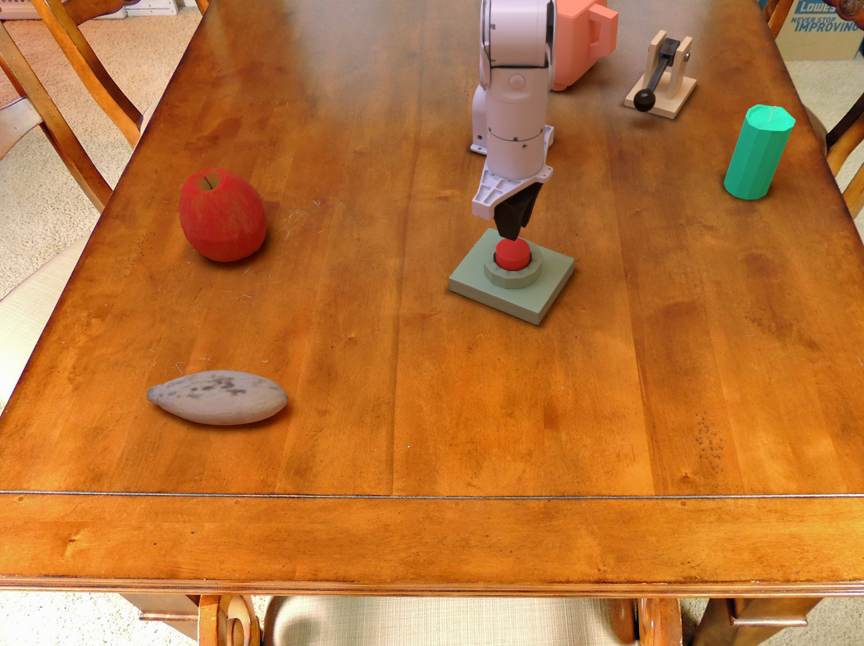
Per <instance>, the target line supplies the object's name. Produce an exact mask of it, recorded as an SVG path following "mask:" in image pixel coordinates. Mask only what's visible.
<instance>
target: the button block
mask: <svg viewBox="0 0 864 646" xmlns="http://www.w3.org/2000/svg"><path fill="white" fill-rule="evenodd" d="M518 238H521V239H523V240H525V241H526V242H527V243H528V244H529V246H530V261H529V264H528V265H527V266H526V267H525V268H524V269H522V270H520V271H507V270H504V269H502V268H500V267H499V266H498V265H497V263H496V246H497V244H498V243H499V242H500V241H501V240H503V239H505V238H504V237H501V236H500V235H499V233H498V230H497V229H495V228H492V227H488V228H487V229H486V230H485V232H484V233H483V234H482V235H481V237H480V238H479V239H478V240H477V241H476V243H475V244H474V245H473V246H472V248H471V249H470V250H469V251H468V253H467V254H466V255H465V256H464V258H463V259H462V260H461V261H460V262H459V264H458V265H457V267H456V268H455V269H454V270H453V271H452V273H451V274H450V275H449V276H448V285H449V290H450V291H451V292H453V293H456V294H459V295H461V296H463V297H466V298H468V299H470V300H473V301H476V302H479V303H480V304H484V305H487V307H490V308H493V309H496V310H499V311H501V312H503V313H506V314H509V315H511V316H513V317H516V318H518V319H520V320H523V321H525V322H528V323H530V324H533V325H536V326H539V325H540V323H542V320H543V318H544V317H545V315H546V314H547V313H548V311H549V309H550V308H551V307H552V305H553V303H554V302H555V300H556V299H557V297H558V296H559V294H560V292H561V291H562V290H563V288H564V286H565V285H566V284H567V282H568V281H569V279H570V278H571V276H572V274H573V273H574V270H575V262H576V258H574V257H571V256H569V255H566V254H563V253H560V252H558V251H555V250H552V249H550V248H546V247H544V246H542V245H538V244H536V243H534V242H533V241H531V240H528V239H526V238H523V237H520V236H518Z"/></svg>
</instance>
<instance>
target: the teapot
mask: <svg viewBox="0 0 864 646" xmlns="http://www.w3.org/2000/svg"><path fill="white" fill-rule="evenodd" d="M556 1H557V7H558V23H557V42H556V67H555V81H554V87H553V88H552V89H551V90H553V91H556V92H561V91H565V90H566V89H567V87H570V86H572V85H573V84H574V83H576V82H577V81H578V80H579V79H580V78H582V76H583V75H584V74H585V73H587V72H588V71H589V70H590V69H591V68H592V67H593V66H594V65H595V63H597V62H598V61H599V60H600V59H601V58H602V57H606V56H610V54H612V53H613V52H614V51H615V50H616V48H617V39H618V38H617V37H618V25H619V24H618V23H619V14H620V13H619V12H618V11H616V10H614V9H611V8H608V0H556Z"/></svg>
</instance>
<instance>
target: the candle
mask: <svg viewBox="0 0 864 646" xmlns="http://www.w3.org/2000/svg"><path fill="white" fill-rule="evenodd" d="M796 121H797V120H796V118H794V117H793V116H792V115H791V114H790V112H787V110H786V109H785V108H783V106H776V105H765V104H756V105H754V106H752V107H750V108H749V109H748V110H747V112H746V114H745V117H744V120H743V123H742V126H741V129H740V132H739V135H738V138H737V141H736V144H735V147H734V151H733V153H732V156H731V159H730V162H729V166H728V168H727V171H726V174H725V177H724V180H723V185H724V188H725V190H726V192H728V193H730V194H731V195H732V196H733V197H735V198H739V199H742V200H746V201H747V200H759V199H761V198H763V197H764V196H766V195H767V194H768V191H769V188H770V186H771V183H772V182H773V181H772V180H773V178H774V176H775V173H776V171H777V168H778V165H779V163H780V161H781V159H782V155H783V153H784V151H785V149H786V146H787V144H788V141H789V138H790V136H791V133H792V131H793V128H794V125H795V123H796Z"/></svg>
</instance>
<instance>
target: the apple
mask: <svg viewBox="0 0 864 646" xmlns="http://www.w3.org/2000/svg"><path fill="white" fill-rule="evenodd" d="M181 187H182V188H181V190H180V194H179V200H178V216H179V223H180V227H181V229H182V231H183V235H184V237H185V239H186V240H187V242H188V243H189V244H190V245H191V246H192V247H193V248H194V249H195V250H196V251H197V252H198V253H199V254H200V255H201V256H203V257H205V258H206V259H208V260H211V261H213V262H218V263H229V262H237V261H239V260H242V259H245V258H247V257H250V256H251V255H253V254H254V253H255V252H257V251H259V250H260V248H261V246H262V245H263V243H264V241H265V238H266V235H267V231H268V229H267V227H268V226H267V221H268V220H267V214H266V210H265V208H264V203H263V201H262V198H261V197H260V196H259V194H258V193H257V191H256V189H255V188H254V186H253V185H251V184H250V183H249V182H248V180H245V178H243V177H241V176H240V175H238V174H237V173H235V172H233V171H231V170H227V169H224V168H222V167H221V168H218V167H215V168H211V167H210V168H208V167H207V168H205V169H202V170H199V171H197V172H195V173H193V174H191V175H190V176H189V177H188V178H187V179H186V180H185V181H184V182H183V185H182V186H181Z"/></svg>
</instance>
